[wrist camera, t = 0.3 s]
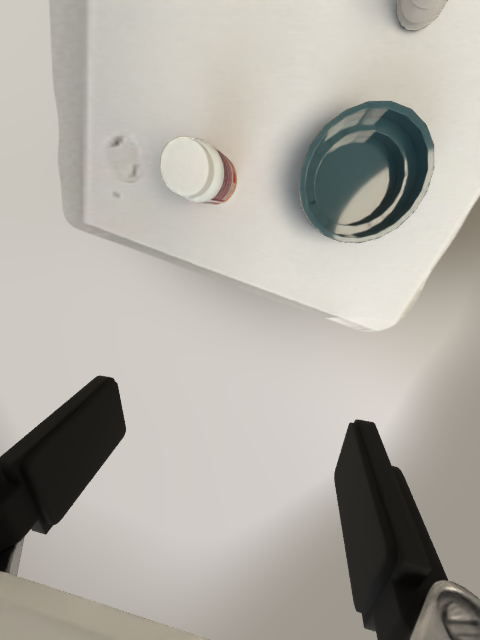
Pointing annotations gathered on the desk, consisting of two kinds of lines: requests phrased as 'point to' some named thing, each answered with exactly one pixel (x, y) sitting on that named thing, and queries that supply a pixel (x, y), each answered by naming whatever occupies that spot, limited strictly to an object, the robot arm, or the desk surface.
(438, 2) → the rook chess piece
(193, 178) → the pill bottle
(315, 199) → the bowl
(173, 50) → the desk surface
